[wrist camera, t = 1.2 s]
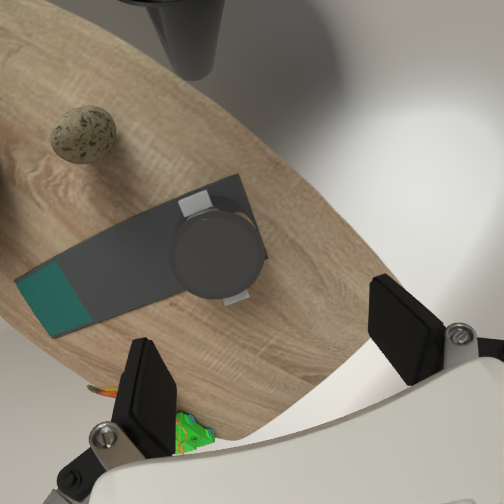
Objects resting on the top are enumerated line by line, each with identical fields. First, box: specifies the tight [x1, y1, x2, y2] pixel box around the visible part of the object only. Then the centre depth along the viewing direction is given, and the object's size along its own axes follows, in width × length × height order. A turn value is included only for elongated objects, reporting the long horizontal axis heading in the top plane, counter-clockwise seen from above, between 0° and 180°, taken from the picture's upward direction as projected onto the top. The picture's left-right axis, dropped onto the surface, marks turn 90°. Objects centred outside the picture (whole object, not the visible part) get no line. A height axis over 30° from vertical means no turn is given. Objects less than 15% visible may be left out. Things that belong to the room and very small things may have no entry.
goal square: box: [16, 261, 94, 336], centre depth 32 cm, size 10×10×1 cm
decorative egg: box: [50, 106, 116, 164], centre depth 21 cm, size 6×6×10 cm
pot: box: [169, 190, 265, 306], centre depth 29 cm, size 12×9×7 cm
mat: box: [14, 174, 268, 339], centre depth 32 cm, size 36×11×1 cm, turn 109°
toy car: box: [175, 412, 216, 454], centre depth 43 cm, size 11×7×7 cm, turn 28°
